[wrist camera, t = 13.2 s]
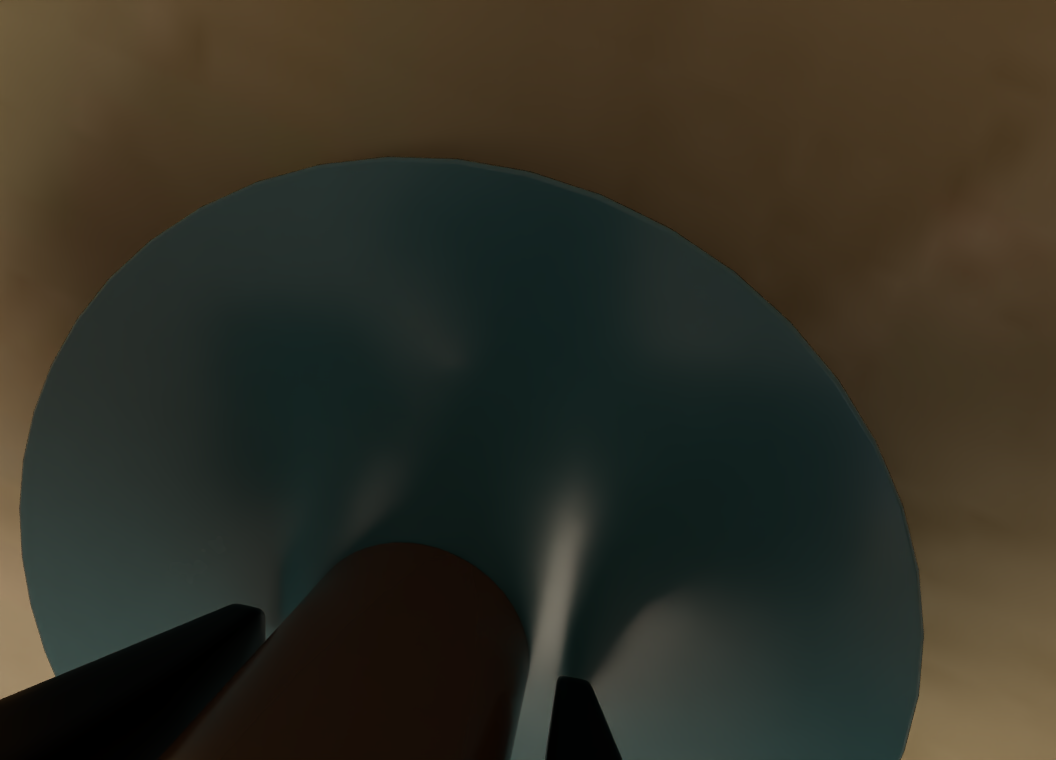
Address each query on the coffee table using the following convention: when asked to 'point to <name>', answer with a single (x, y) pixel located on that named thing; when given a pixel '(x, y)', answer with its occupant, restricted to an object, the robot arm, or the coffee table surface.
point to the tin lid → (470, 481)
